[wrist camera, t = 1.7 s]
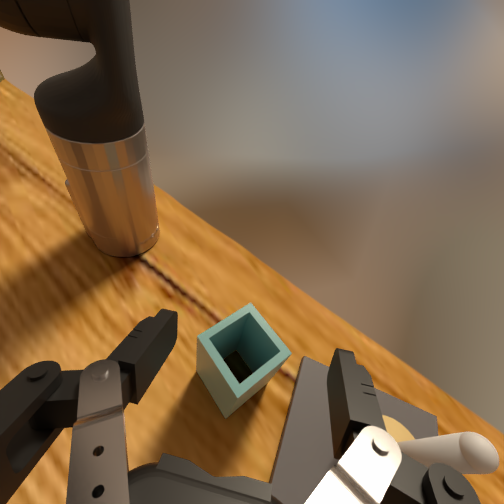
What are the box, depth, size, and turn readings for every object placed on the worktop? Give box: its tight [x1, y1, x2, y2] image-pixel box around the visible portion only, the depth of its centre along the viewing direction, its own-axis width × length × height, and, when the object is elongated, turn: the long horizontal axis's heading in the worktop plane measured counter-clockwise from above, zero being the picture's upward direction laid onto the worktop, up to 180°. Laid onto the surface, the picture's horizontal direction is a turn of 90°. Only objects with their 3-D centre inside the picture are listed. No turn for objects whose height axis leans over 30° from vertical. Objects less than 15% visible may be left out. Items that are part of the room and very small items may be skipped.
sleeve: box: [196, 303, 292, 419], centre depth 26 cm, size 6×6×10 cm
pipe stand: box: [269, 356, 499, 504], centre depth 21 cm, size 16×15×16 cm
